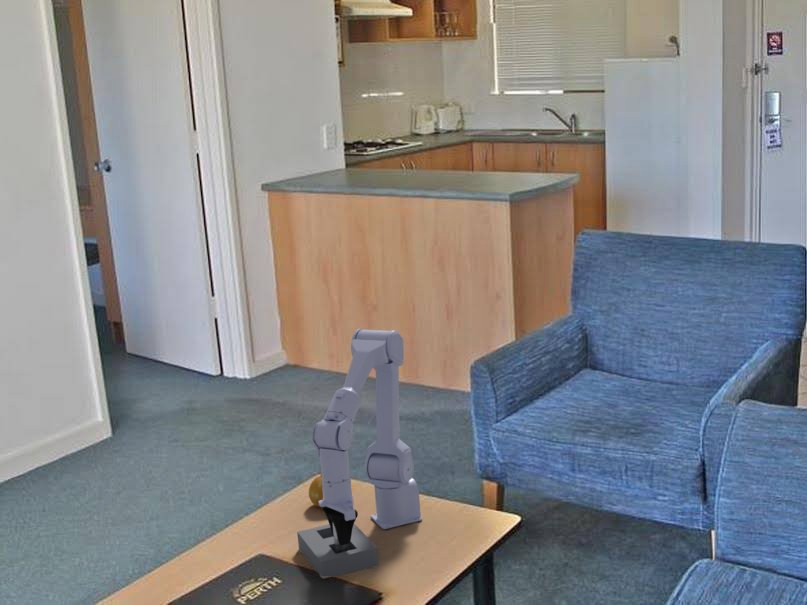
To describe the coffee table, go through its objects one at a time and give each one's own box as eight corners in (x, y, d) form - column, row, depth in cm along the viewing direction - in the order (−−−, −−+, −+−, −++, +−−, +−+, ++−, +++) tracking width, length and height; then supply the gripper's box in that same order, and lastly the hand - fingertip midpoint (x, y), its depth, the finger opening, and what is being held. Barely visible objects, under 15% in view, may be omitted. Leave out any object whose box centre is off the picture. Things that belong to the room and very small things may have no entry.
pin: (347, 547, 216) (344, 515, 214) (351, 553, 213) (349, 521, 211) (333, 550, 215) (330, 519, 213) (338, 556, 212) (335, 524, 210)
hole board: (351, 536, 227) (350, 519, 227) (378, 565, 213) (376, 547, 212) (298, 549, 223) (297, 531, 222) (322, 580, 209) (320, 561, 208)
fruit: (336, 484, 251) (320, 462, 247) (356, 495, 245) (341, 474, 241) (312, 509, 248) (297, 488, 244) (333, 521, 242) (317, 500, 238)
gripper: (306, 470, 215) (312, 531, 218) (328, 494, 202) (334, 559, 205) (338, 463, 218) (344, 524, 221) (363, 486, 205) (368, 550, 208)
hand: (341, 540), depth 213 cm, fingers closed on pin, 3 cm apart
